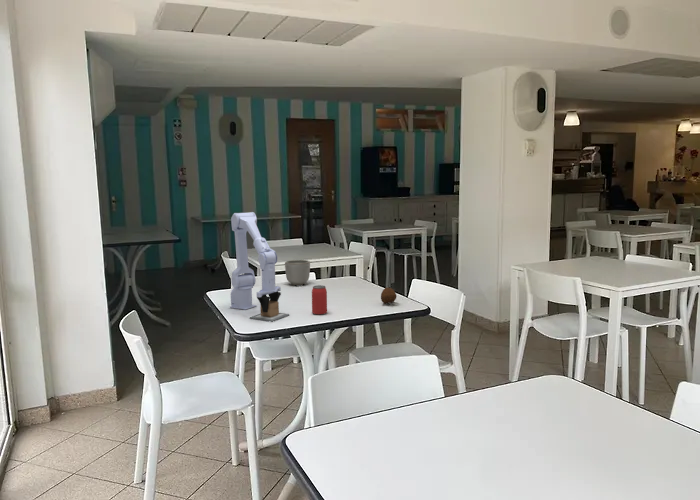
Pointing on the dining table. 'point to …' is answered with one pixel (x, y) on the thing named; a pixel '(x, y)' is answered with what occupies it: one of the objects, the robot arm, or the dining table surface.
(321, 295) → the beer can
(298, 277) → the planter
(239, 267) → the robot arm
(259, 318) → the slate coaster
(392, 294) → the potato
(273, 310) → the walnut block
